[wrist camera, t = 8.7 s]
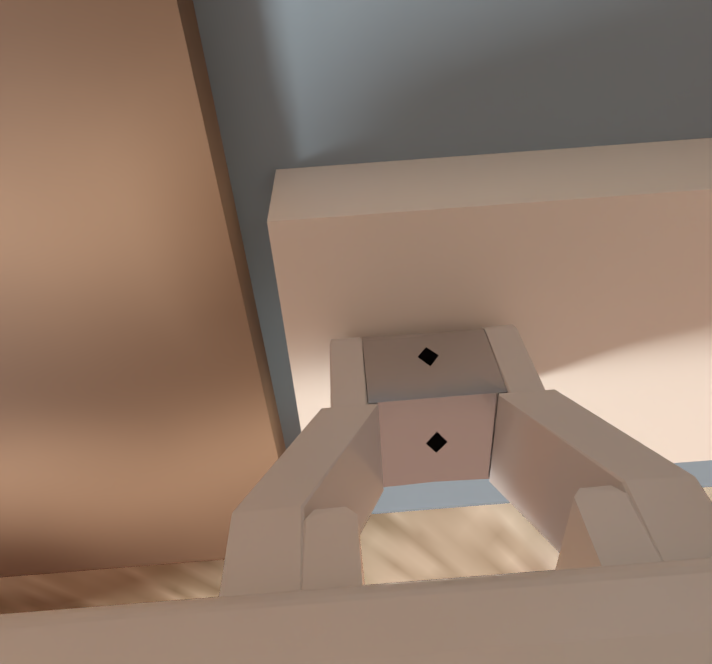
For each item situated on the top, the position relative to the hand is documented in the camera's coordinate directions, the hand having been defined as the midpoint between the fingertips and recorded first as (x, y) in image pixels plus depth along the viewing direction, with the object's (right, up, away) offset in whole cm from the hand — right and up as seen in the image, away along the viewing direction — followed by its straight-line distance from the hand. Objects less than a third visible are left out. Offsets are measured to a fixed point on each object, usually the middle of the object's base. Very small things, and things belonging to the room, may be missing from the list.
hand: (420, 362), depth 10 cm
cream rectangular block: (+2, +1, +2) cm, 3 cm away
